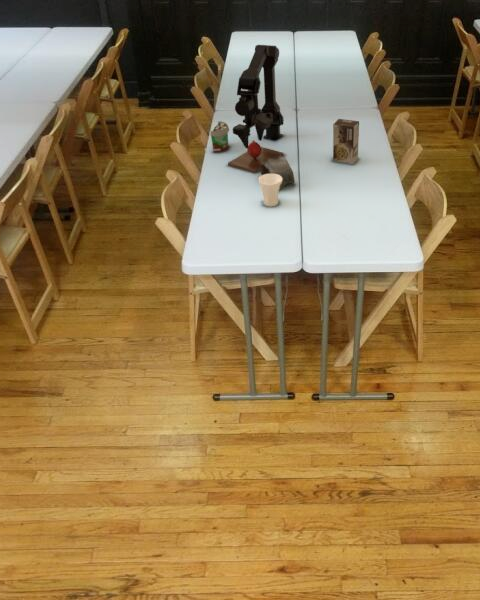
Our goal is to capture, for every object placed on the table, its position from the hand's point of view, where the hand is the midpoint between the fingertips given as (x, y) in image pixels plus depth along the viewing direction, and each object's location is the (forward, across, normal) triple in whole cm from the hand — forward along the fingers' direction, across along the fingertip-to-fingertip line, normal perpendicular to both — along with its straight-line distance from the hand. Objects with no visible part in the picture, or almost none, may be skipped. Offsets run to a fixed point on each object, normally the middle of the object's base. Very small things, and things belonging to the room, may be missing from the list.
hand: (253, 144), depth 257 cm
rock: (+8, -11, -19) cm, 23 cm away
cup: (+8, -26, -27) cm, 38 cm away
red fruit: (+6, 0, 0) cm, 7 cm away
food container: (+8, +4, +20) cm, 21 cm away
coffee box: (+8, +20, -32) cm, 39 cm away
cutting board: (+8, +1, 0) cm, 8 cm away
